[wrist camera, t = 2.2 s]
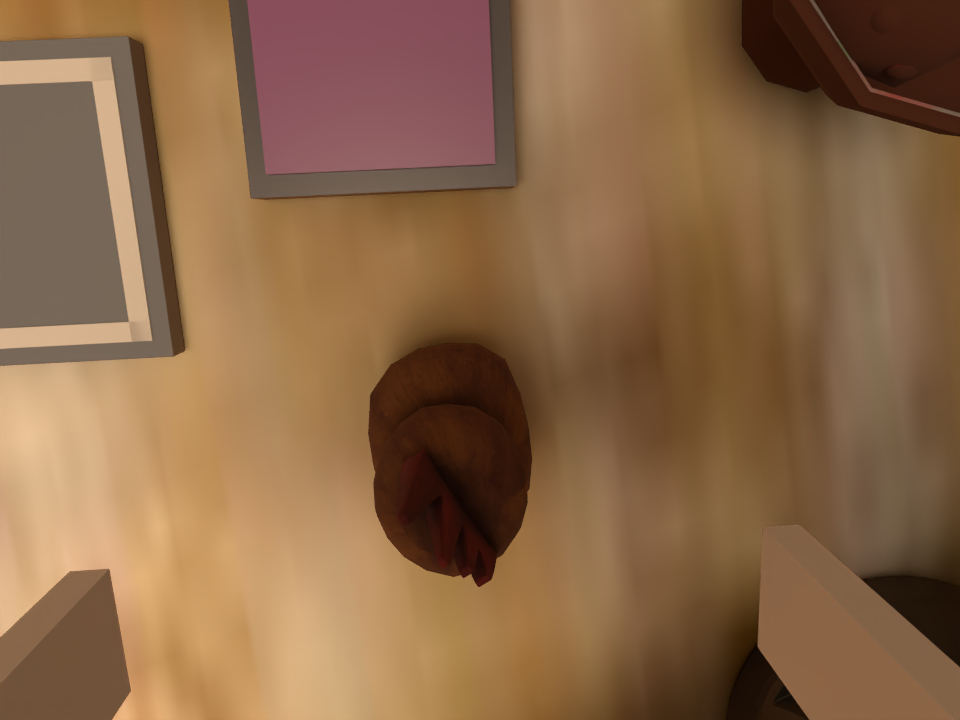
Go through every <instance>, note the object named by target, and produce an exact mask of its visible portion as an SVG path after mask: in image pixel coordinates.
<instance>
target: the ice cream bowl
mask: <svg viewBox="0 0 960 720" xmlns="http://www.w3.org/2000/svg"><path fill="white" fill-rule="evenodd" d="M742 46H743V48H744V49H745V51H746V52H747V53H748V55H749V56H750V58H751V59H752V61H753V62H754V64H755V65H756V66H757V68H758V69H759V71H760V72H761V74H762V75H763V77H764V78H765V79H766V81H768V82H772V83H775V84H779V85H783V86H786V87H790V88H793V89H797V90H800V91H804V92H808V91H811V90H813V89H815V88H818V87H820V86H821V88H822V89H823V91H824V92H825V94H826V95H827V96H828V97H829V98H830V99H831V100H832V101H833V102H835V103H836V104H837V105H839V106H842V107H846V108H849V109H853V110H856V111H860V112H864V113H867V114H871V115H874V116H878V117H881V118H885V119H888V120H892V121H895V122H899V123H902V124H906V125H910V126H913V127H917V128H920V129H924V130H927V131H931V132H934V133H938V134H944V135H952V136H960V0H742Z"/></svg>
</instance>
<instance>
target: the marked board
mask: <svg viewBox="0 0 960 720" xmlns="http://www.w3.org/2000/svg"><path fill="white" fill-rule="evenodd" d="M183 351H185V349H184V342H183V334H182V327H181V320H180V313H179V305H178V298H177V291H176V283H175V276H174V269H173V262H172V254H171V247H170V240H169V233H168V225H167V218H166V211H165V203H164V196H163V189H162V182H161V174H160V167H159V160H158V153H157V145H156V138H155V131H154V124H153V116H152V109H151V102H150V94H149V87H148V80H147V73H146V65H145V58H144V51H143V44H141V43H139V42H137V41H136V40H134V39H132V38H130V37H128V36H126V37H101V38H75V39H50V40H25V41H0V366H5V365H24V364H43V363H61V362H80V361H98V360H117V359H136V358H154V357H173V356H175V355H177V354H179V353H181V352H183Z"/></svg>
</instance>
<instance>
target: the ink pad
mask: <svg viewBox="0 0 960 720" xmlns="http://www.w3.org/2000/svg"><path fill="white" fill-rule="evenodd" d="M229 8H230V17H231V26H232V35H233V44H234V53H235V62H236V71H237V80H238V89H239V97H240V106H241V115H242V124H243V133H244V142H245V151H246V160H247V169H248V178H249V186H250V195H251V198H252V199H263V200H269V199H290V198H311V197H333V196H354V195H375V194H396V193H417V192H439V191H460V190H481V189H502V188H513V187H515V186H516V160H515V132H514V104H513V75H512V47H511V19H510V0H229Z"/></svg>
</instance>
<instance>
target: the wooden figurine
mask: <svg viewBox="0 0 960 720" xmlns="http://www.w3.org/2000/svg"><path fill="white" fill-rule="evenodd" d="M368 434H369V441H370V447H371V453H372V460H373V465H374V469H375V472H376V473H375V478H374V499H375V510H376V513H377V517H378V519H379V521H380V523H381V525H382V527H383V529H384V531H385V534H386V536H387V538H388V539H389V540H390V541H391V543H392V544H393V545H394V546H395V547H396V548H397V549H398V551H399V552H400V553H401V554H402V555H403V556H404V557H405V558H407V559H408V560H410V561H412V562H413V563H415V564H417V565H418V566H420V567H422V568H423V569H425V570H427V571H431V572H435V573H440V574H444V575H448V576H452V577H455V576H459V575H461V576H462V577H463V578H465V577H466V576H468V575H470V574H472V577H473V579H474V581H475V583H476V584H477V586H478V587H480V586H482V585H483V584H485V583H487V582H488V581H490V580H491V579H492V576H493V573H494V569H495V564H496V559H497V558H498V557H500V556H501V555H503V553H504V552H505V550H506V549H507V548H508V546H509V545H510V543H511V542H512V540H513V539H514V537H515V536H516V535H517V533H518V531H519V530H520V528H521V525H522V521H523V518H524V514H525V510H526V506H527V503H528V502H527V491H528V490H529V486H530V475H531V464H532V454H531V445H530V437H529V429H528V423H527V419H526V415H525V411H524V407H523V404H522V400H521V396H520V393H519V390H518V388H517V386H516V384H515V381H514V379H513V377H512V375H511V372H510V370H509V368H508V366H507V363H506V361H505V359H503V358H501V357H500V356H498V355H496V354H494V353H493V352H491V351H489V350H487V349H486V348H484V347H482V346H480V345H479V344H471V343H445V344H440V345H435V346H430V347H426V348H421V349H417V350H416V351H414V352H412V353H410V354H409V355H407V356H405V357H404V358H402V359H400V360H398V361H397V362H395V363H393V364H391V365H390V367H389V368H388V369H387V371H386V372H385V374H384V375H383V377H382V378H381V380H380V381H379V382H378V384H377V385H376V387H375V388H374V390H373V391H372V393H371V395H370V412H369V431H368Z"/></svg>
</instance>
